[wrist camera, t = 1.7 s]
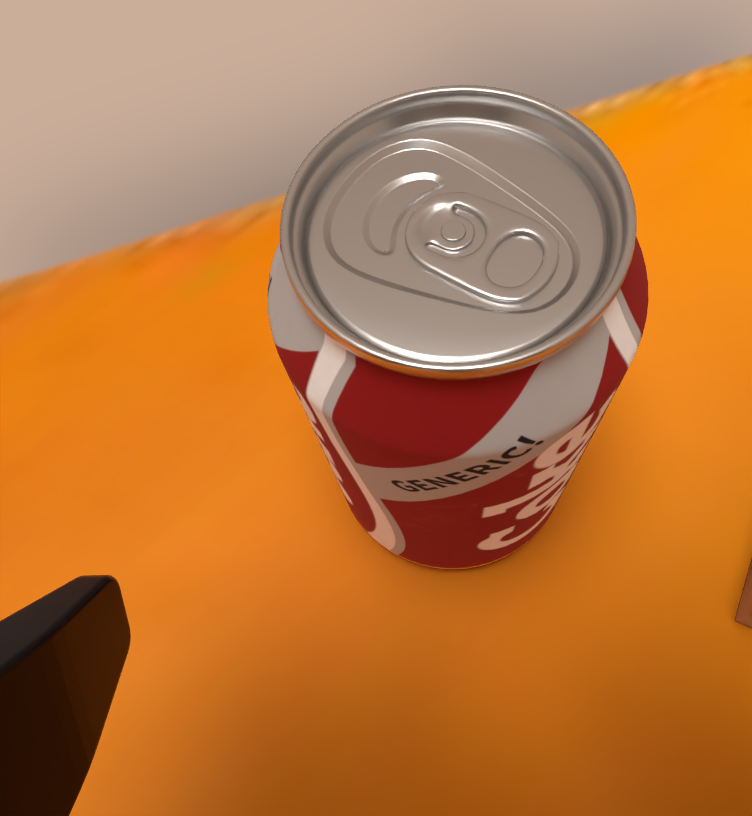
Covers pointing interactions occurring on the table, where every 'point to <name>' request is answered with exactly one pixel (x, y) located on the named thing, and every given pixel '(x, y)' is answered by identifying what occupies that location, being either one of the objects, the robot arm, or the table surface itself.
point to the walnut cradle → (746, 602)
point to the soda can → (457, 312)
